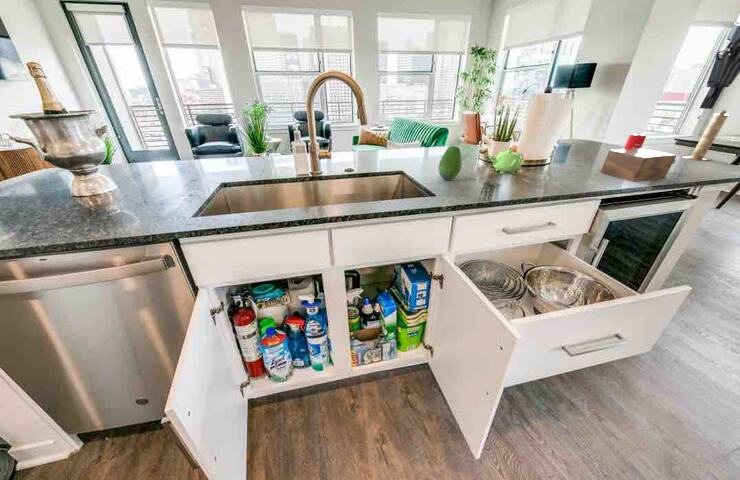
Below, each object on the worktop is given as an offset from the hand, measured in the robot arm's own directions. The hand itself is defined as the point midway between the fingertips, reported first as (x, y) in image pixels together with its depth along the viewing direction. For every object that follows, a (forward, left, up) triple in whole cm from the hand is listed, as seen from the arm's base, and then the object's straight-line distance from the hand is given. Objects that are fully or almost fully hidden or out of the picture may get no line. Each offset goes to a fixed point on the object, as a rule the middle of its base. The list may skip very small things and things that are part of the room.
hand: (705, 108), depth 96 cm
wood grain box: (+13, +15, -22) cm, 30 cm away
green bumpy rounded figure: (+54, +37, -23) cm, 69 cm away
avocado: (+68, +59, -23) cm, 93 cm away
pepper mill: (-12, -32, -22) cm, 41 cm away
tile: (-12, -32, -22) cm, 41 cm away
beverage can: (+14, -5, -23) cm, 27 cm away
